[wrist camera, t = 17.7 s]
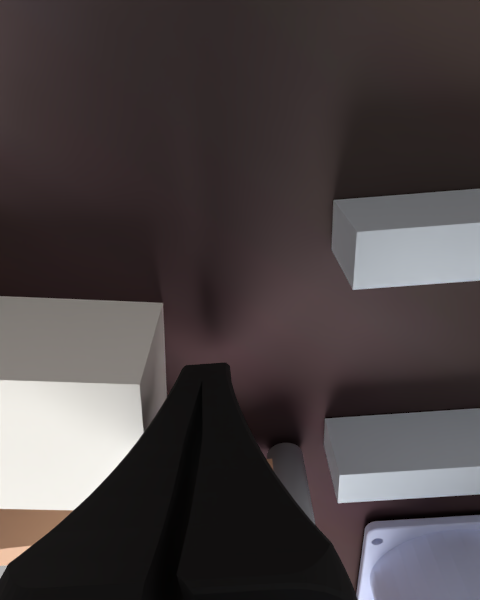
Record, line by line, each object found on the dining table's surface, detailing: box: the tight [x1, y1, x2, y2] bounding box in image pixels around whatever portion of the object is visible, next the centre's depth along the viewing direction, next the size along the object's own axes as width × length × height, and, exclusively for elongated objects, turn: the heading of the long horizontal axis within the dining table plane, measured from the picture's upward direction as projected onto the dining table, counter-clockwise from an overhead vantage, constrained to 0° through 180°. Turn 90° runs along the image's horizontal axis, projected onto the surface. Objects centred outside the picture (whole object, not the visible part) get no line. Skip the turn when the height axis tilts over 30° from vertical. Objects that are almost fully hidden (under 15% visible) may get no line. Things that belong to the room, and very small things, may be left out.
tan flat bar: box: [0, 443, 315, 566], centre depth 15 cm, size 17×1×4 cm, turn 99°
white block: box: [0, 296, 167, 510], centre depth 13 cm, size 5×6×4 cm
